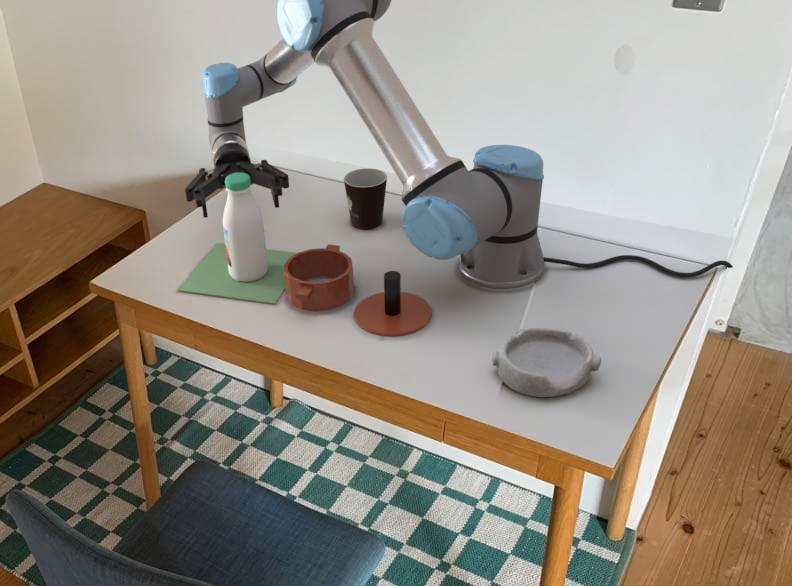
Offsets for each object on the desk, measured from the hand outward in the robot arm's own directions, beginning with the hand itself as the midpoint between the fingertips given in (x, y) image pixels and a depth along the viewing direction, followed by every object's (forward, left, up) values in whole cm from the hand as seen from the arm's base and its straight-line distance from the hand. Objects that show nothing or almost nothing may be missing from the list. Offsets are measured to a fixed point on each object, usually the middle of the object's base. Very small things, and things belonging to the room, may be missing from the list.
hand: (240, 206), depth 171 cm
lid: (-32, +10, -13) cm, 36 cm away
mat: (0, +2, -14) cm, 14 cm away
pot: (-17, +6, -14) cm, 22 cm away
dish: (-59, +20, -14) cm, 64 cm away
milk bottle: (-1, +2, -13) cm, 14 cm away
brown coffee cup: (-17, -24, -14) cm, 33 cm away
